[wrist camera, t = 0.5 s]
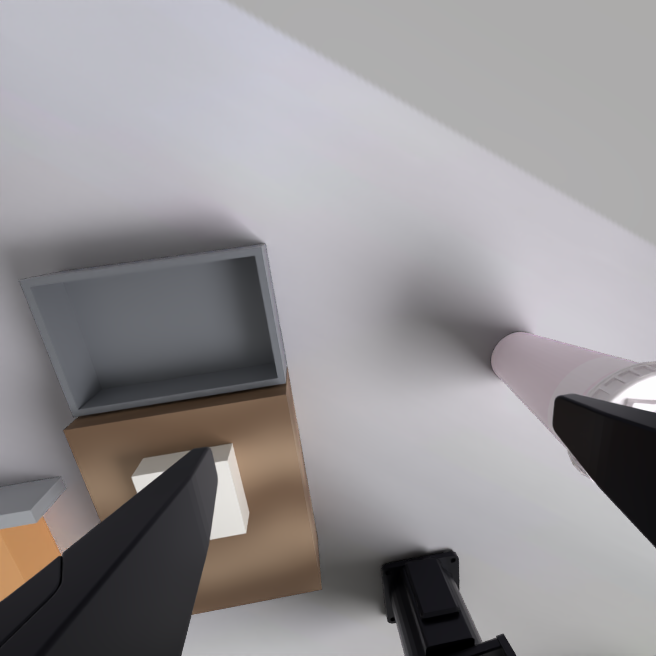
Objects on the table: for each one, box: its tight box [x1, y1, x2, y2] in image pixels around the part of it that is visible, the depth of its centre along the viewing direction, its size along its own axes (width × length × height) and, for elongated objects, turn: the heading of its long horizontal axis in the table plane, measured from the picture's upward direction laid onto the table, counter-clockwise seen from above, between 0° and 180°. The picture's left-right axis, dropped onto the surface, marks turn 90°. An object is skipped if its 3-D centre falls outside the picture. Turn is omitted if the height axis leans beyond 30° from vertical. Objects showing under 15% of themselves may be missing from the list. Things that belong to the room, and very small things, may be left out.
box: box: [19, 244, 287, 417], centre depth 20 cm, size 8×12×3 cm, turn 97°
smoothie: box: [491, 332, 656, 484], centre depth 18 cm, size 6×6×14 cm
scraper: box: [0, 477, 66, 602], centre depth 24 cm, size 10×7×3 cm
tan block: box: [63, 368, 322, 615], centre depth 23 cm, size 15×12×4 cm
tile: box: [132, 443, 249, 540], centre depth 20 cm, size 5×5×2 cm
